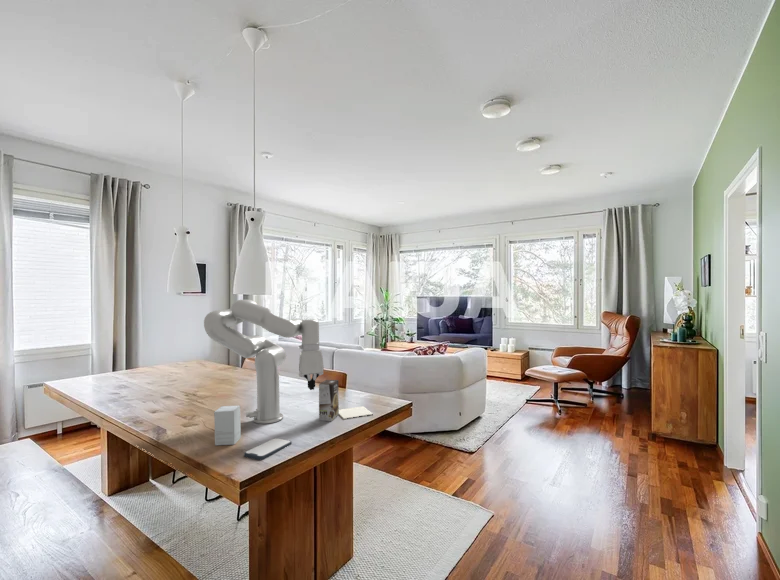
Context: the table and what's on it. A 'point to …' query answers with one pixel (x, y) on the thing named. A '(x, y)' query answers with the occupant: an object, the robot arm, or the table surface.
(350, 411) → the cream mat
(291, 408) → the table surface
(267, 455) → the phone case
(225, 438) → the supplement box
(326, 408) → the coffee box
